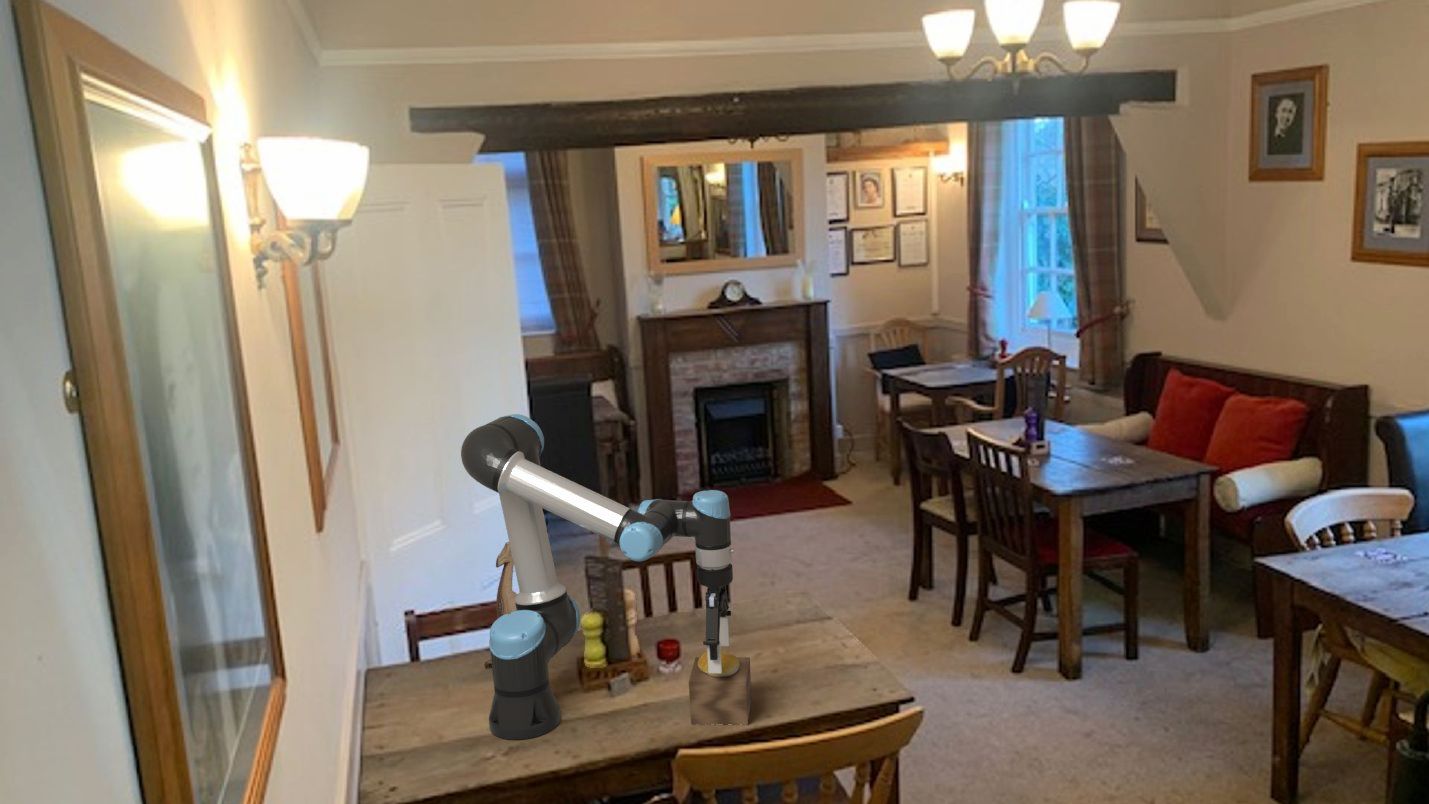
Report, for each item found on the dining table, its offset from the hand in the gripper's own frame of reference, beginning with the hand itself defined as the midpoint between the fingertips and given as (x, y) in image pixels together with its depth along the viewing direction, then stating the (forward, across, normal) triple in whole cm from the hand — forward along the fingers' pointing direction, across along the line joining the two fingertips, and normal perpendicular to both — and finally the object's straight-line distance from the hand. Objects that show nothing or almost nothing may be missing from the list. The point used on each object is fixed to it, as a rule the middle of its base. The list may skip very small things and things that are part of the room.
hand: (719, 658), depth 227 cm
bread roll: (+3, 0, 0) cm, 3 cm away
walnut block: (+12, 0, 0) cm, 12 cm away
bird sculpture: (+12, +22, +53) cm, 59 cm away
